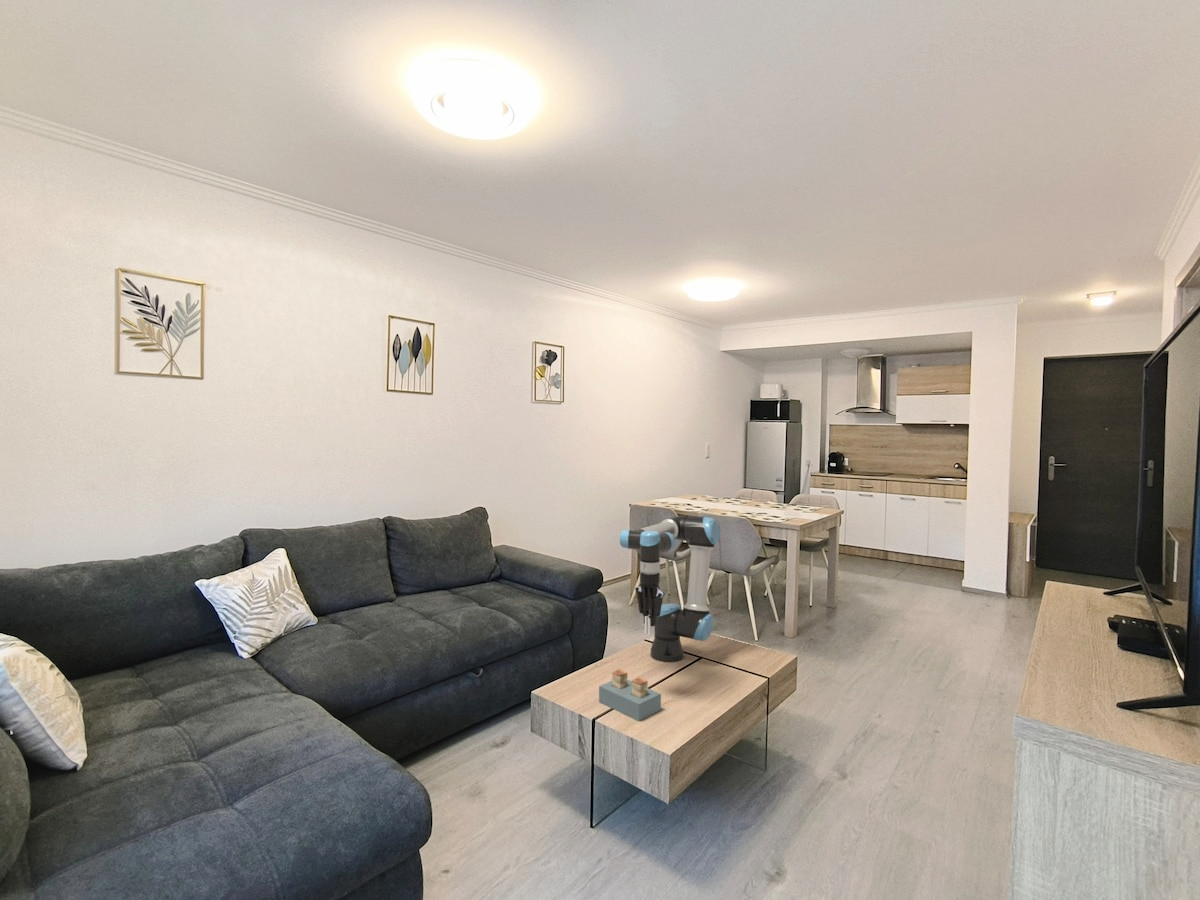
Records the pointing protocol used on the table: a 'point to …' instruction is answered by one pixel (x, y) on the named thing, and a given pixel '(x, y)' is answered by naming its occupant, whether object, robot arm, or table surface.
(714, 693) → the table surface
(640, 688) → the peg
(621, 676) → the peg
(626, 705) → the socket block
